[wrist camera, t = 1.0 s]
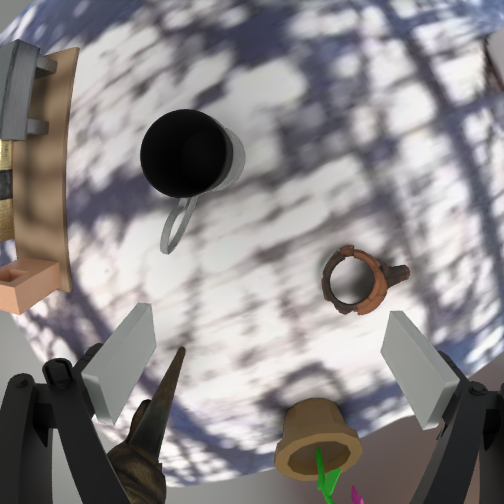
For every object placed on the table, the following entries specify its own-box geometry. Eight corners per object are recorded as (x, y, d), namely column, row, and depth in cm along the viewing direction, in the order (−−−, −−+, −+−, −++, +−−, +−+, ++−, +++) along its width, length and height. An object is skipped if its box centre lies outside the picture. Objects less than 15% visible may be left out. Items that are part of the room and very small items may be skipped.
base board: (27, 64, 34) (23, 63, 33) (79, 48, 34) (76, 46, 33) (24, 281, 44) (20, 283, 43) (72, 290, 44) (69, 292, 43)
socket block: (22, 257, 42) (-22, 279, 31) (59, 261, 42) (14, 287, 31) (25, 279, 43) (-17, 304, 32) (62, 285, 43) (20, 315, 32)
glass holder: (253, 135, 37) (249, 115, 23) (222, 239, 41) (202, 278, 27) (188, 118, 37) (149, 93, 22) (161, 221, 41) (112, 249, 26)
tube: (15, 60, 27) (-1, 55, 24) (31, 54, 27) (16, 48, 24) (5, 234, 34) (-11, 240, 31) (20, 235, 34) (3, 241, 31)
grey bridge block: (35, 63, 33) (-6, 50, 23) (59, 56, 33) (18, 39, 23) (25, 144, 37) (-21, 144, 26) (48, 140, 37) (1, 139, 26)
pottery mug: (338, 319, 44) (328, 327, 37) (321, 259, 46) (307, 255, 39) (414, 294, 40) (420, 298, 32) (395, 233, 42) (396, 223, 34)
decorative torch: (189, 325, 45) (118, 499, 16) (212, 359, 46) (171, 533, 17) (154, 340, 46) (70, 495, 17) (177, 372, 47) (120, 530, 18)
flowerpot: (349, 433, 51) (382, 561, 22) (277, 445, 52) (281, 579, 23) (351, 382, 47) (402, 535, 18) (267, 396, 48) (268, 560, 19)
